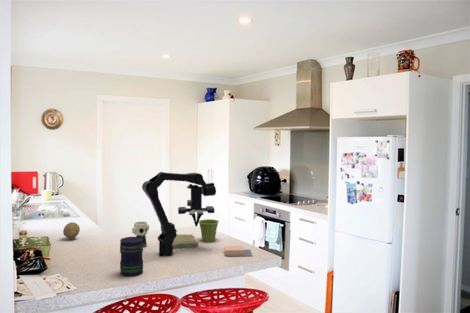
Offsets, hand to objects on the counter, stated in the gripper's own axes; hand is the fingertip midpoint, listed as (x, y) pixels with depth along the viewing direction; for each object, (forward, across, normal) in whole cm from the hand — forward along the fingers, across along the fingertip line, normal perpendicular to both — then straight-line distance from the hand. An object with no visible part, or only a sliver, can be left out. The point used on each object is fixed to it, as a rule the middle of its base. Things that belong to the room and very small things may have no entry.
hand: (196, 226), depth 210 cm
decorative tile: (+14, +8, -15) cm, 22 cm away
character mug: (+13, +29, -13) cm, 34 cm away
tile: (+11, -14, +8) cm, 20 cm away
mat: (+13, -21, +9) cm, 26 cm away
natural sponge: (+13, +69, -34) cm, 78 cm away
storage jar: (+13, +31, +30) cm, 45 cm away
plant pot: (+13, -9, -19) cm, 25 cm away
